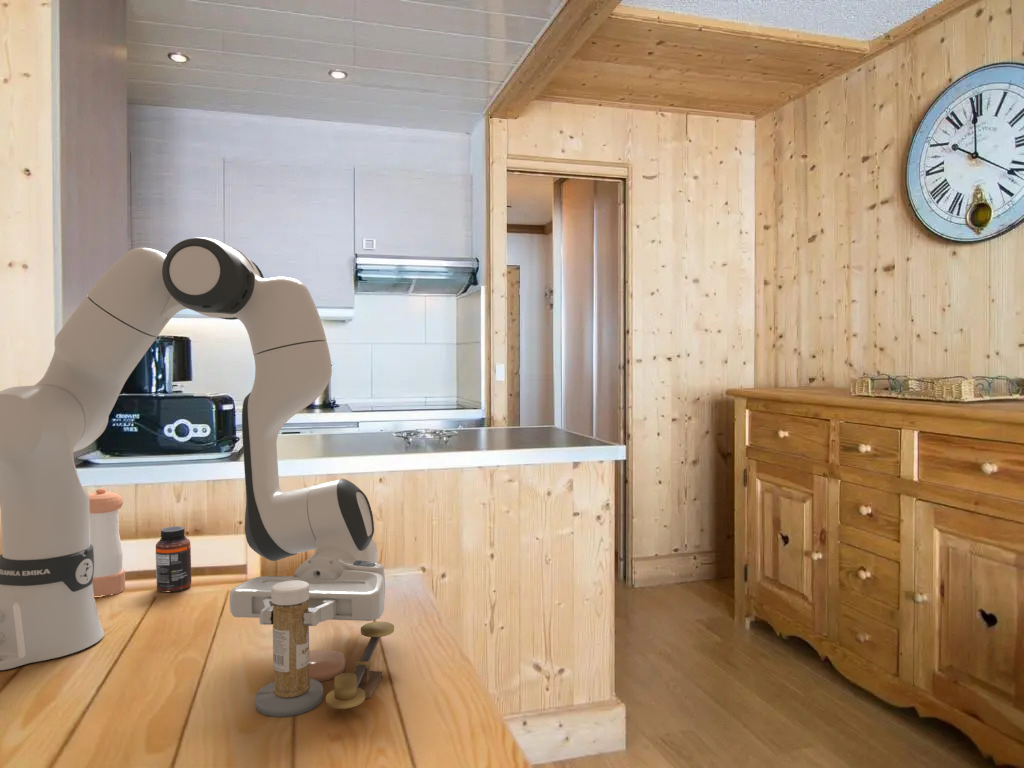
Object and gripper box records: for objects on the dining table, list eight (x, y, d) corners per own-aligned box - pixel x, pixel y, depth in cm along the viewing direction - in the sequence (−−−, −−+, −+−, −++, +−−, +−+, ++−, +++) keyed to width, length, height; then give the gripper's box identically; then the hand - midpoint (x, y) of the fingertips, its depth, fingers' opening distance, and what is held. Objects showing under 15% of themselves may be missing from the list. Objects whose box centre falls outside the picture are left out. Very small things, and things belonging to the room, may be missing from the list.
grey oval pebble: (244, 715, 85) (244, 705, 85) (272, 685, 93) (272, 676, 93) (309, 718, 85) (309, 708, 85) (331, 687, 93) (331, 678, 93)
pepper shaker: (88, 586, 134) (87, 485, 134) (130, 584, 136) (129, 484, 135) (72, 599, 127) (71, 492, 126) (117, 596, 128) (115, 491, 128)
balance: (320, 723, 83) (320, 679, 83) (366, 656, 102) (366, 621, 102) (358, 724, 83) (358, 681, 83) (397, 657, 102) (397, 622, 102)
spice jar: (315, 693, 88) (314, 586, 88) (277, 702, 86) (276, 592, 86) (304, 679, 92) (303, 576, 92) (268, 688, 90) (267, 582, 89)
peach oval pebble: (275, 682, 94) (275, 673, 94) (298, 657, 102) (298, 648, 102) (334, 684, 94) (334, 675, 94) (352, 658, 102) (352, 650, 101)
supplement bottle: (178, 581, 137) (178, 523, 137) (198, 586, 134) (197, 527, 134) (149, 590, 132) (148, 529, 132) (169, 595, 129) (168, 533, 129)
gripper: (254, 561, 102) (205, 591, 88) (394, 564, 101) (367, 595, 87) (254, 604, 102) (206, 642, 89) (394, 608, 101) (367, 646, 87)
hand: (287, 619), depth 88 cm, fingers closed on spice jar, 4 cm apart
